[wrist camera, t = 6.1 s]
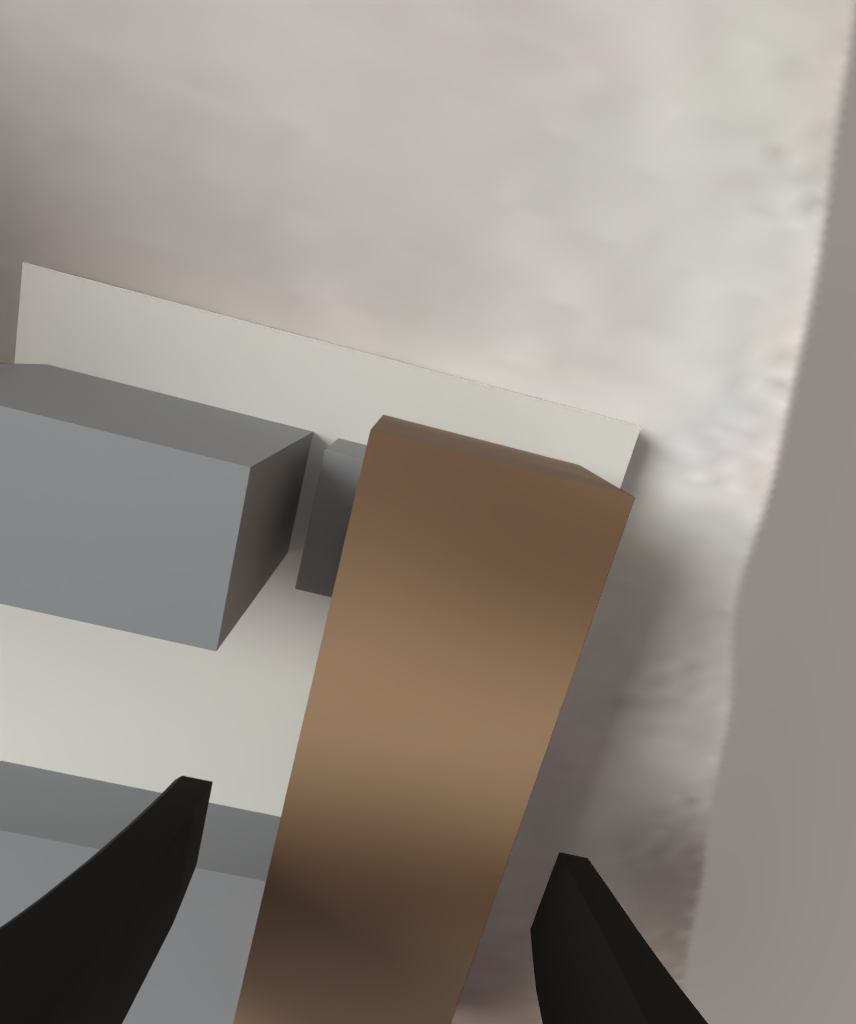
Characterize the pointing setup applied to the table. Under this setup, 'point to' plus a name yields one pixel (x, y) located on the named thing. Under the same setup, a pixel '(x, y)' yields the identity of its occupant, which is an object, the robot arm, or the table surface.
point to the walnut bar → (425, 722)
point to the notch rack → (188, 581)
